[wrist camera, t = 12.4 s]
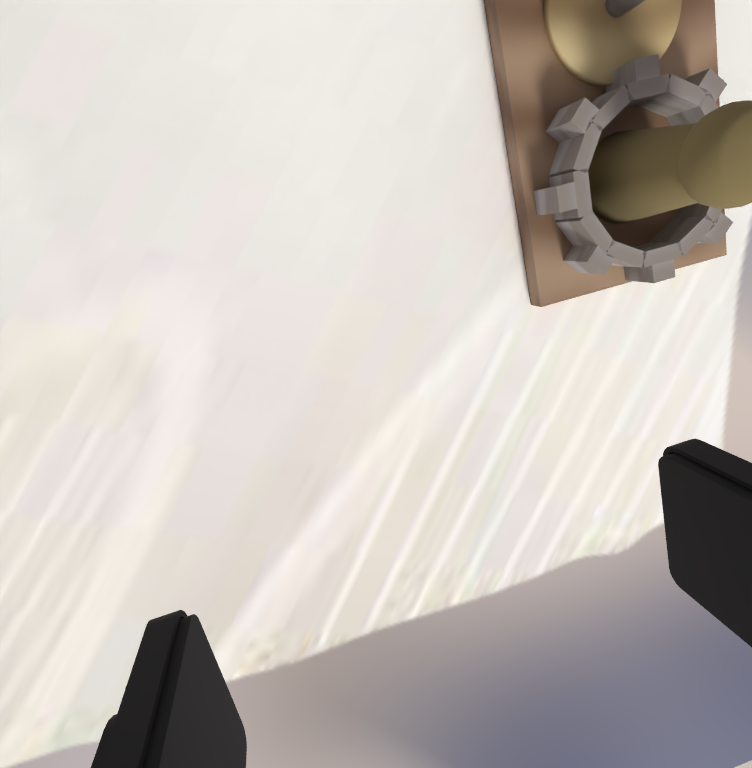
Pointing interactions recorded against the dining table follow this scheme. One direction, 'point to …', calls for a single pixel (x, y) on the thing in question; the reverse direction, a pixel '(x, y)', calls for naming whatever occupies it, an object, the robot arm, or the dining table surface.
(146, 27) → the dining table surface
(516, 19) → the gear board
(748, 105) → the cork
